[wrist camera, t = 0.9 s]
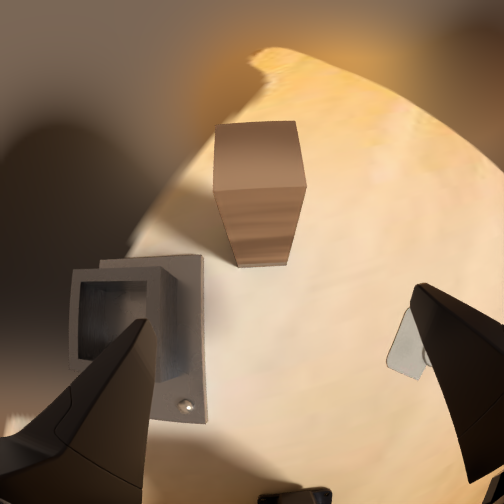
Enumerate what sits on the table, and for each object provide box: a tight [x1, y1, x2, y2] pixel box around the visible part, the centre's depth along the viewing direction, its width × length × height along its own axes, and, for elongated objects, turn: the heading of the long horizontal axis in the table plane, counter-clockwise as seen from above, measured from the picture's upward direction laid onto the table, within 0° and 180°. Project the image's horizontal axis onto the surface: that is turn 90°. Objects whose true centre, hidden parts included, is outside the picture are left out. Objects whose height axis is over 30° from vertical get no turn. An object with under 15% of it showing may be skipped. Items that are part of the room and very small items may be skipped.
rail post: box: [213, 121, 307, 268], centre depth 18 cm, size 4×4×12 cm
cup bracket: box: [69, 255, 208, 424], centre depth 19 cm, size 14×10×5 cm
